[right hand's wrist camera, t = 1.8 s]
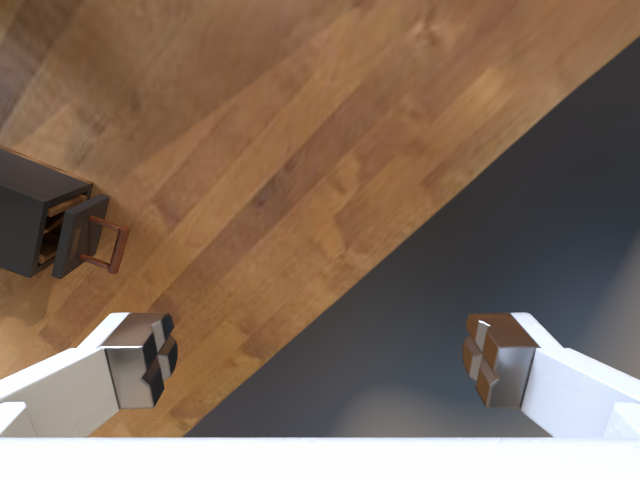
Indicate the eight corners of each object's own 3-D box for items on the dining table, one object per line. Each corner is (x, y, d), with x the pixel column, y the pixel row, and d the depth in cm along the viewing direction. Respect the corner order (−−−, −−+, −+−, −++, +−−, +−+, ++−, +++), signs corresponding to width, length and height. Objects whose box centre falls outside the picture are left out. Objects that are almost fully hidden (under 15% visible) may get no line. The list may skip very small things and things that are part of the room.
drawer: (146, 211, 52) (117, 230, 45) (129, 267, 56) (100, 293, 48) (-46, 134, 49) (-112, 142, 41) (-52, 199, 52) (-114, 217, 44)
